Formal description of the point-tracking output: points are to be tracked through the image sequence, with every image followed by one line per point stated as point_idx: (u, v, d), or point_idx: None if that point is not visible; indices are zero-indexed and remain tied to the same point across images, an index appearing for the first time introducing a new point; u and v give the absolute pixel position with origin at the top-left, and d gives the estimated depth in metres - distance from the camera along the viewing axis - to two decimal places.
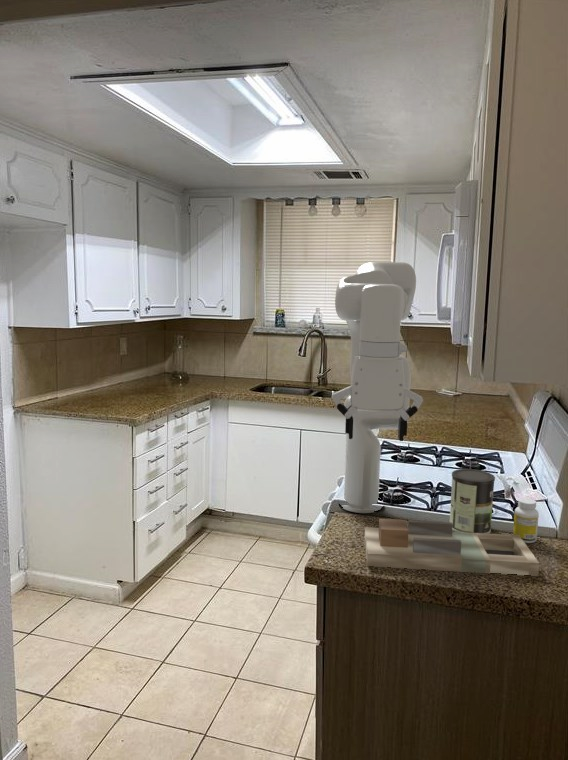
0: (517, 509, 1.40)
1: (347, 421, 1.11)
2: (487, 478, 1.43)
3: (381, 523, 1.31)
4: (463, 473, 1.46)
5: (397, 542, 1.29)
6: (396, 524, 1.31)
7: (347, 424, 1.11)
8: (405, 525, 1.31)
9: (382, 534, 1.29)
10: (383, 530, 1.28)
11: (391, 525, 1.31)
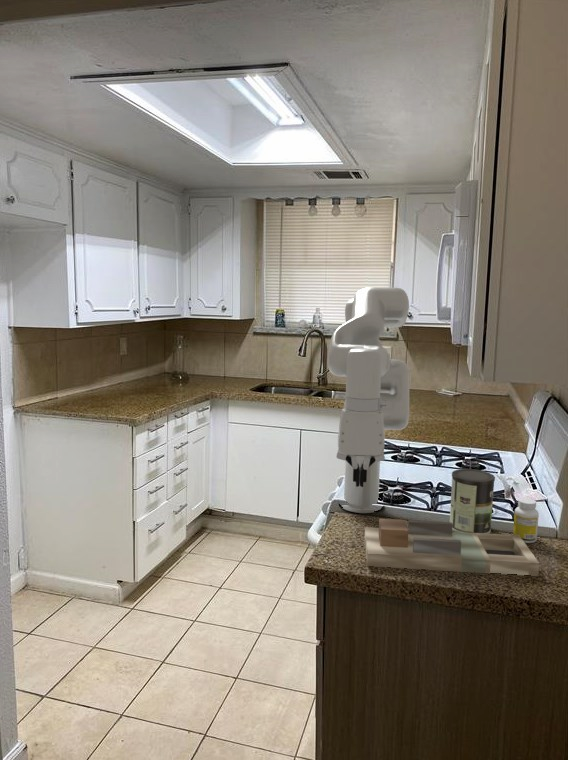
0: (517, 509, 1.40)
1: (354, 471, 1.29)
2: (487, 478, 1.43)
3: (381, 523, 1.31)
4: (463, 473, 1.46)
5: (397, 542, 1.29)
6: (396, 524, 1.31)
7: (354, 474, 1.29)
8: (405, 525, 1.31)
9: (382, 534, 1.29)
10: (383, 530, 1.28)
11: (391, 525, 1.31)
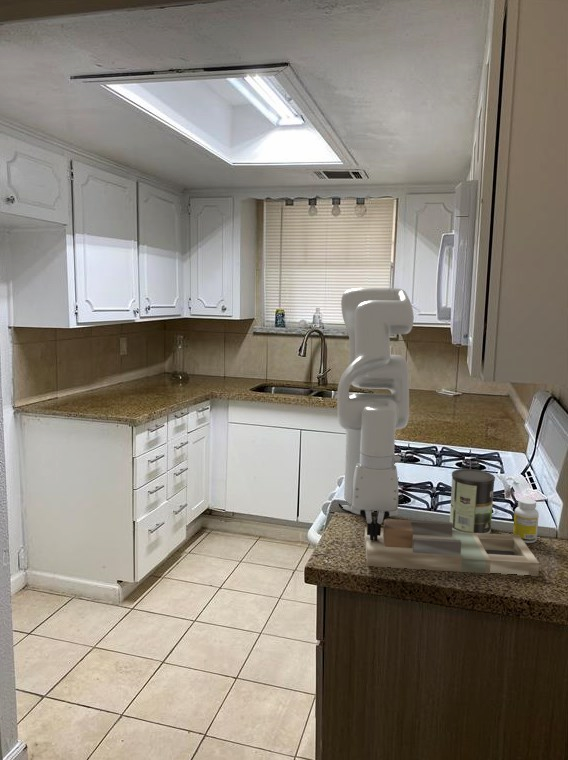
0: (517, 509, 1.40)
1: (369, 525, 1.31)
2: (487, 478, 1.43)
3: (386, 523, 1.31)
4: (463, 473, 1.46)
5: (401, 543, 1.28)
6: (401, 524, 1.31)
7: (369, 527, 1.31)
8: (410, 525, 1.30)
9: (387, 534, 1.28)
10: (387, 531, 1.28)
11: (396, 525, 1.30)
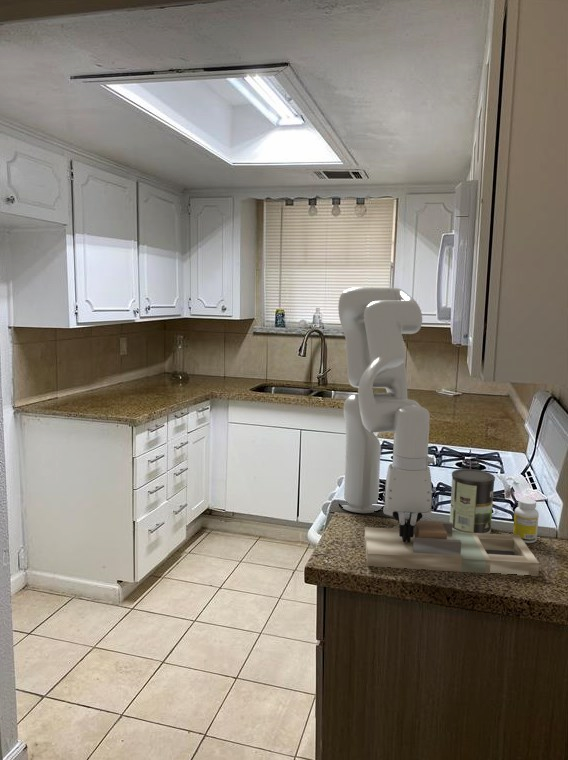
0: (517, 509, 1.40)
1: (401, 526, 1.30)
2: (487, 478, 1.43)
3: (418, 525, 1.30)
4: (463, 473, 1.46)
5: None
6: (433, 526, 1.30)
7: (401, 529, 1.30)
8: (443, 528, 1.30)
9: (420, 537, 1.28)
10: (421, 533, 1.27)
11: (429, 527, 1.30)
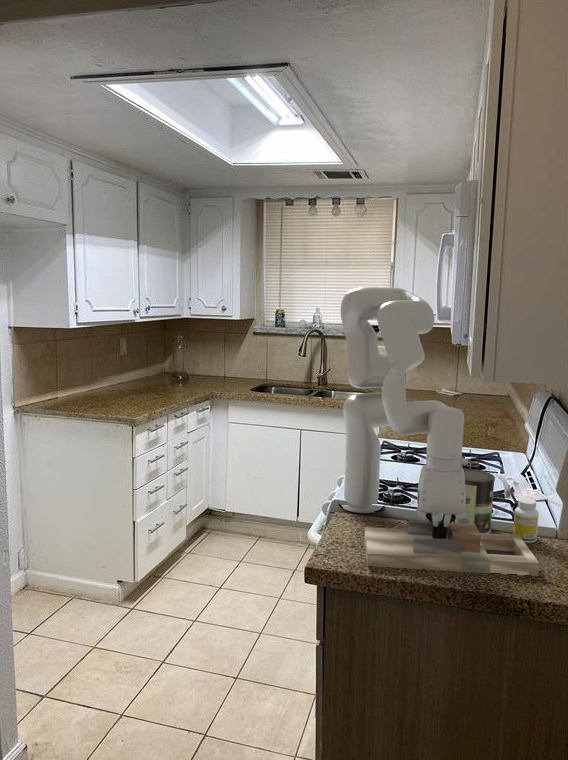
0: (517, 509, 1.40)
1: (435, 528, 1.29)
2: (487, 478, 1.43)
3: (451, 527, 1.30)
4: None
5: (468, 547, 1.27)
6: (467, 528, 1.29)
7: (434, 531, 1.29)
8: (476, 530, 1.29)
9: (454, 538, 1.27)
10: (454, 535, 1.27)
11: (462, 529, 1.29)
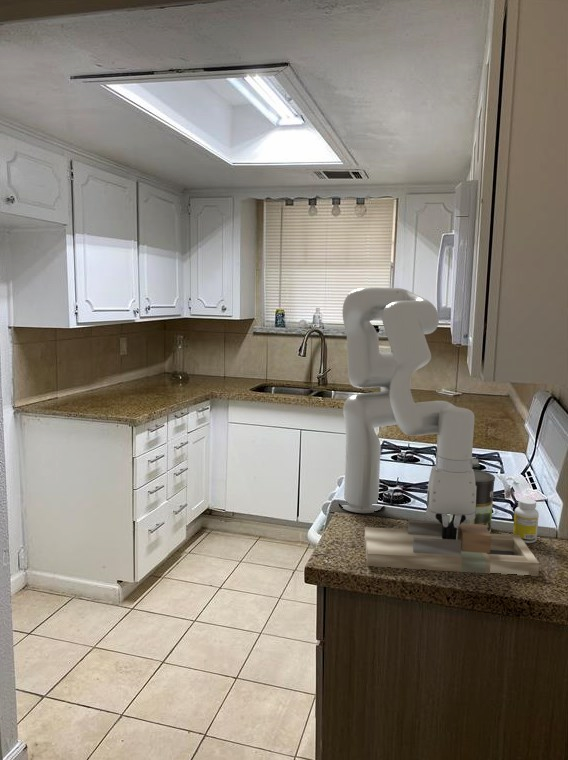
0: (517, 509, 1.40)
1: (444, 529, 1.29)
2: (487, 478, 1.43)
3: (461, 528, 1.30)
4: None
5: (479, 548, 1.27)
6: (477, 529, 1.29)
7: (444, 531, 1.29)
8: (486, 530, 1.28)
9: (464, 539, 1.27)
10: (465, 535, 1.26)
11: (472, 530, 1.29)
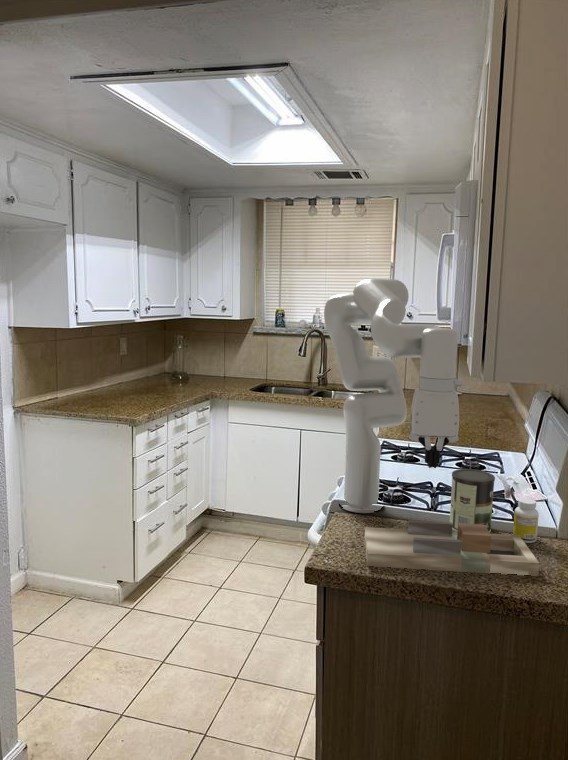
0: (517, 509, 1.40)
1: (427, 452, 1.27)
2: (487, 478, 1.43)
3: (461, 528, 1.30)
4: (463, 473, 1.46)
5: (479, 548, 1.27)
6: (477, 529, 1.29)
7: (427, 455, 1.27)
8: (486, 530, 1.28)
9: (464, 539, 1.27)
10: (465, 535, 1.26)
11: (472, 530, 1.29)
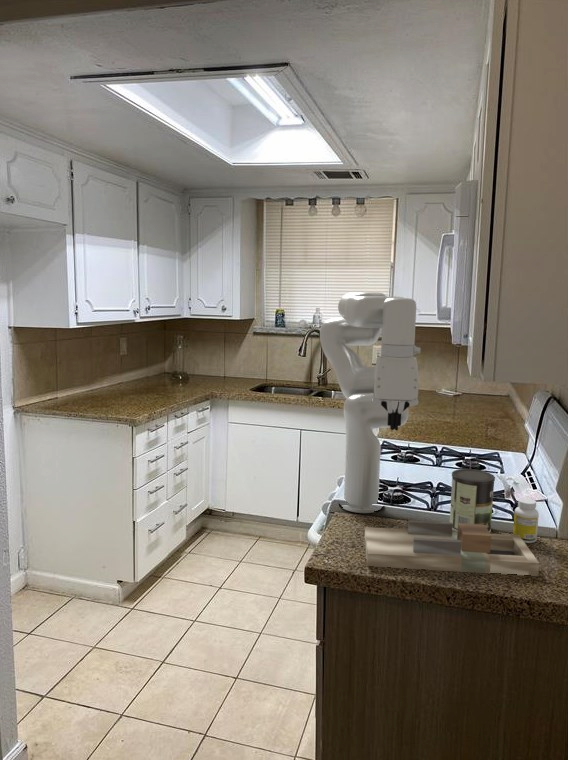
0: (517, 509, 1.40)
1: (389, 415, 1.36)
2: (487, 478, 1.43)
3: (461, 528, 1.30)
4: (463, 473, 1.46)
5: (479, 548, 1.27)
6: (477, 529, 1.29)
7: (389, 418, 1.36)
8: (486, 530, 1.28)
9: (464, 539, 1.27)
10: (465, 535, 1.26)
11: (472, 530, 1.29)
